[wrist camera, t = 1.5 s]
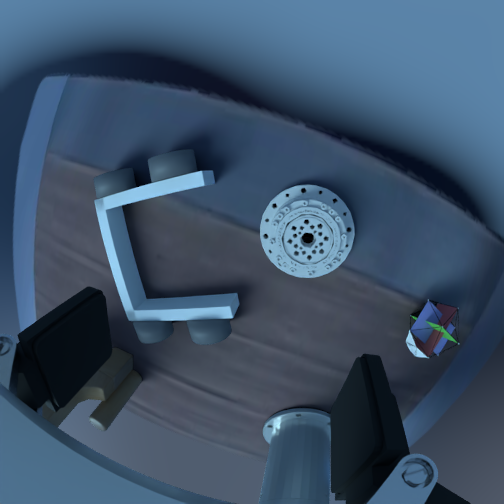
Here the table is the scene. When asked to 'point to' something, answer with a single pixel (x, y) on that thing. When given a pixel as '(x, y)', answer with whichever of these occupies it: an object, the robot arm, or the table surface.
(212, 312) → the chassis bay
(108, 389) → the wooden toy
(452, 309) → the geometric puzzle
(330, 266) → the mechanical component
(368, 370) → the robot arm
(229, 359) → the table surface
